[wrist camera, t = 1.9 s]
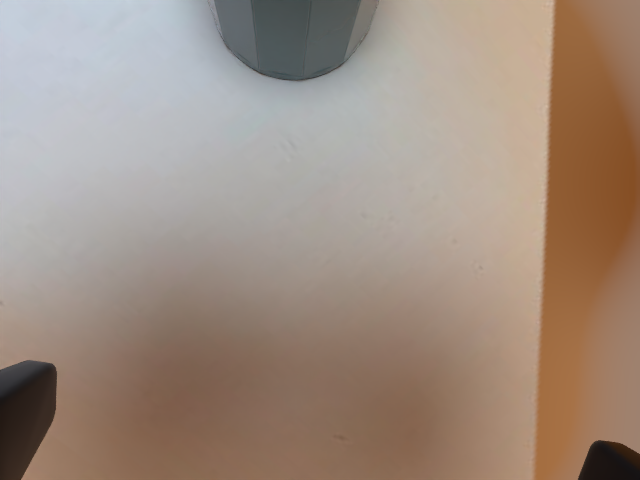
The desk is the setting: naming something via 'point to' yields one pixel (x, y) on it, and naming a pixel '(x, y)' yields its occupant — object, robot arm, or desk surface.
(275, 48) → the teal cup
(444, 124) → the desk surface
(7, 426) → the robot arm
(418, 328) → the desk surface
